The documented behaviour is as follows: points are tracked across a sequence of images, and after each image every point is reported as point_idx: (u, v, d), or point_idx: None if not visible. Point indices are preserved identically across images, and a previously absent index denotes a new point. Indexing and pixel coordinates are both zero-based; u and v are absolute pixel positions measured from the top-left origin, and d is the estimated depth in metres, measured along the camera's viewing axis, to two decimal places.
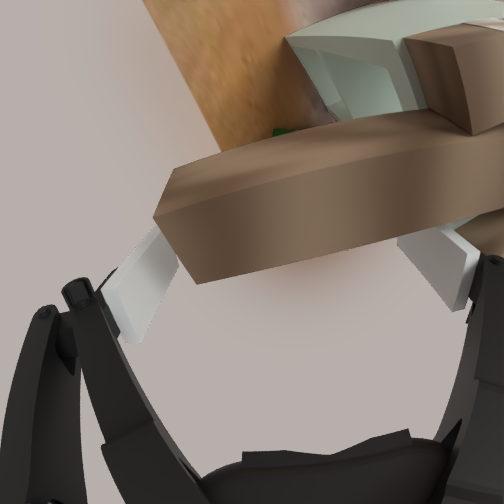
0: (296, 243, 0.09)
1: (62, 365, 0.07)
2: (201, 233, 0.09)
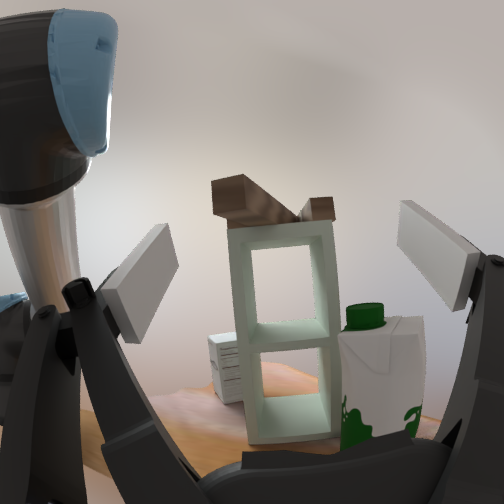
0: None
1: (62, 365, 0.07)
2: None
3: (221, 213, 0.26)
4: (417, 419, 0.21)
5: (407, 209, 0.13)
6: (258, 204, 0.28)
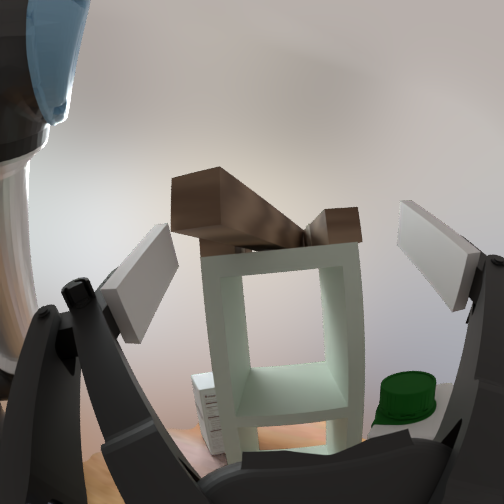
0: None
1: (61, 365, 0.07)
2: None
3: (183, 230, 0.16)
4: None
5: (407, 209, 0.13)
6: (246, 217, 0.18)
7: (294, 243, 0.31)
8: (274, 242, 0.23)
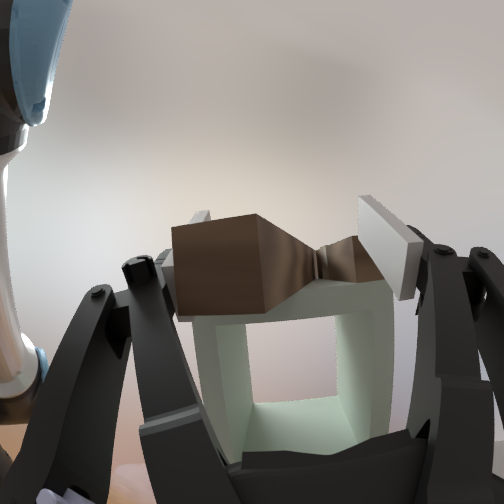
0: None
1: (109, 348, 0.08)
2: None
3: None
4: None
5: (363, 203, 0.15)
6: (283, 275, 0.12)
7: (311, 272, 0.25)
8: (301, 287, 0.18)
